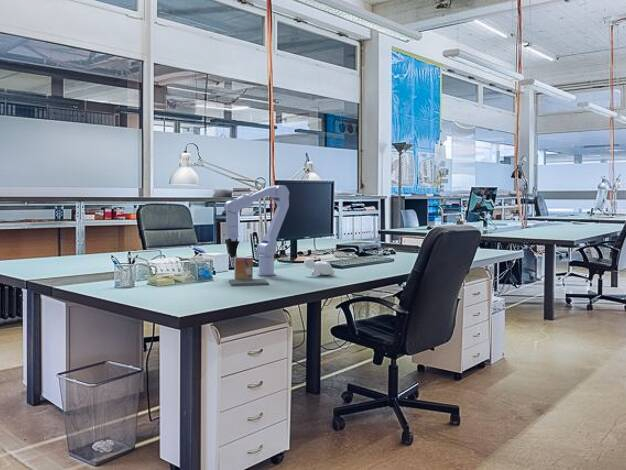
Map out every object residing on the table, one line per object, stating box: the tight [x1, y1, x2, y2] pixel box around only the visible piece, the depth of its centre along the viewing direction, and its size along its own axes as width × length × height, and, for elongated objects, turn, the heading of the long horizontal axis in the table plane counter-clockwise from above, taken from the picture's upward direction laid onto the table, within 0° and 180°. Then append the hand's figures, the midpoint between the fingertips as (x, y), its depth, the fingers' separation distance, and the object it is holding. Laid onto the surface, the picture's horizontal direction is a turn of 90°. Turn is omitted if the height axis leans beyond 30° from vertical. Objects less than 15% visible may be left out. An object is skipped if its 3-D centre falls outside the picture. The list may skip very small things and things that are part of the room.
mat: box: [228, 278, 270, 287], centre depth 257 cm, size 12×16×1 cm
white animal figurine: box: [303, 257, 335, 278], centre depth 282 cm, size 9×8×15 cm
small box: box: [233, 256, 254, 279], centre depth 266 cm, size 8×6×10 cm
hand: (232, 255), depth 275 cm, fingers open, 7 cm apart
